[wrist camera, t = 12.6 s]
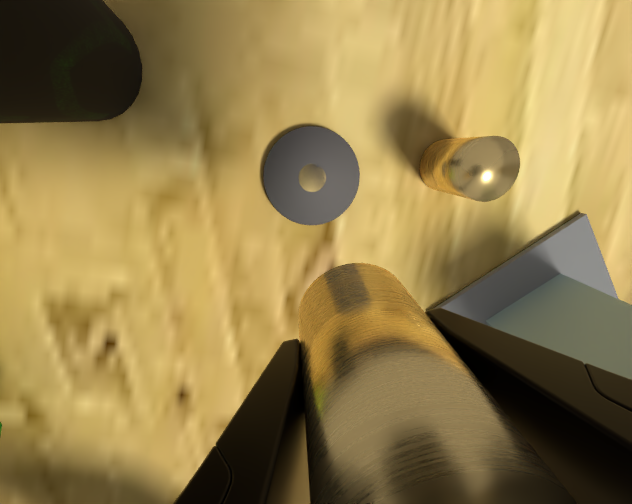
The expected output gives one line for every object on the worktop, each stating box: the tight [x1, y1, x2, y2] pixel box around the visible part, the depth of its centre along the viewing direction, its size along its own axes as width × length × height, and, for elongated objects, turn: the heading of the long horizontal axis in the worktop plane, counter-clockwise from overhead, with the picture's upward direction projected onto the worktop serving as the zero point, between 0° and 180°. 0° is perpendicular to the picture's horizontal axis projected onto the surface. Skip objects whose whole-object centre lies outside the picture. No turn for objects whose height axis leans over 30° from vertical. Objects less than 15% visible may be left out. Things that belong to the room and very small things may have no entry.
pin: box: [420, 136, 520, 202], centre depth 17 cm, size 3×3×4 cm
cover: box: [486, 273, 632, 380], centre depth 19 cm, size 6×6×10 cm
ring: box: [263, 126, 360, 225], centre depth 18 cm, size 6×6×1 cm
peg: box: [298, 263, 577, 504], centre depth 7 cm, size 3×3×6 cm
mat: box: [433, 213, 618, 325], centre depth 23 cm, size 12×12×1 cm
